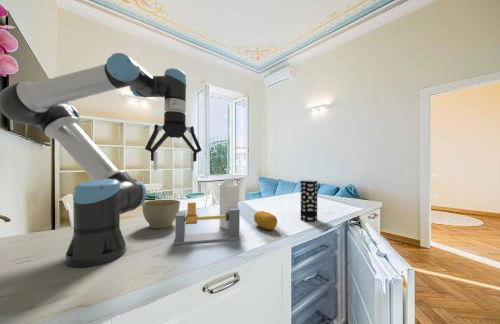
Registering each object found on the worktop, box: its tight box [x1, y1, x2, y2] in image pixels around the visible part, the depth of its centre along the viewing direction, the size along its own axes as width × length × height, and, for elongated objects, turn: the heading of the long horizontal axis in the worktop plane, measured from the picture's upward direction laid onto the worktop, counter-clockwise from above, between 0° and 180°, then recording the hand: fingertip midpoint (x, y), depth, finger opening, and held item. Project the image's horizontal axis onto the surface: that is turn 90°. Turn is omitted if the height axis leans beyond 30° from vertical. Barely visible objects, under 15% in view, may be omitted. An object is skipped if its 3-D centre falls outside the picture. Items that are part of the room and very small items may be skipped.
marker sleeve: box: [185, 201, 198, 225], centre depth 80 cm, size 4×3×8 cm
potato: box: [253, 210, 278, 231], centre depth 96 cm, size 7×14×7 cm, turn 26°
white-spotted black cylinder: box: [300, 180, 318, 223], centre depth 110 cm, size 8×8×20 cm
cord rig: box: [173, 206, 241, 246], centre depth 82 cm, size 24×8×11 cm, turn 104°
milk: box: [219, 177, 239, 230], centre depth 97 cm, size 6×6×22 cm
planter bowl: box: [141, 199, 181, 229], centre depth 98 cm, size 16×16×11 cm
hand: (174, 170), depth 79 cm, fingers open, 12 cm apart
